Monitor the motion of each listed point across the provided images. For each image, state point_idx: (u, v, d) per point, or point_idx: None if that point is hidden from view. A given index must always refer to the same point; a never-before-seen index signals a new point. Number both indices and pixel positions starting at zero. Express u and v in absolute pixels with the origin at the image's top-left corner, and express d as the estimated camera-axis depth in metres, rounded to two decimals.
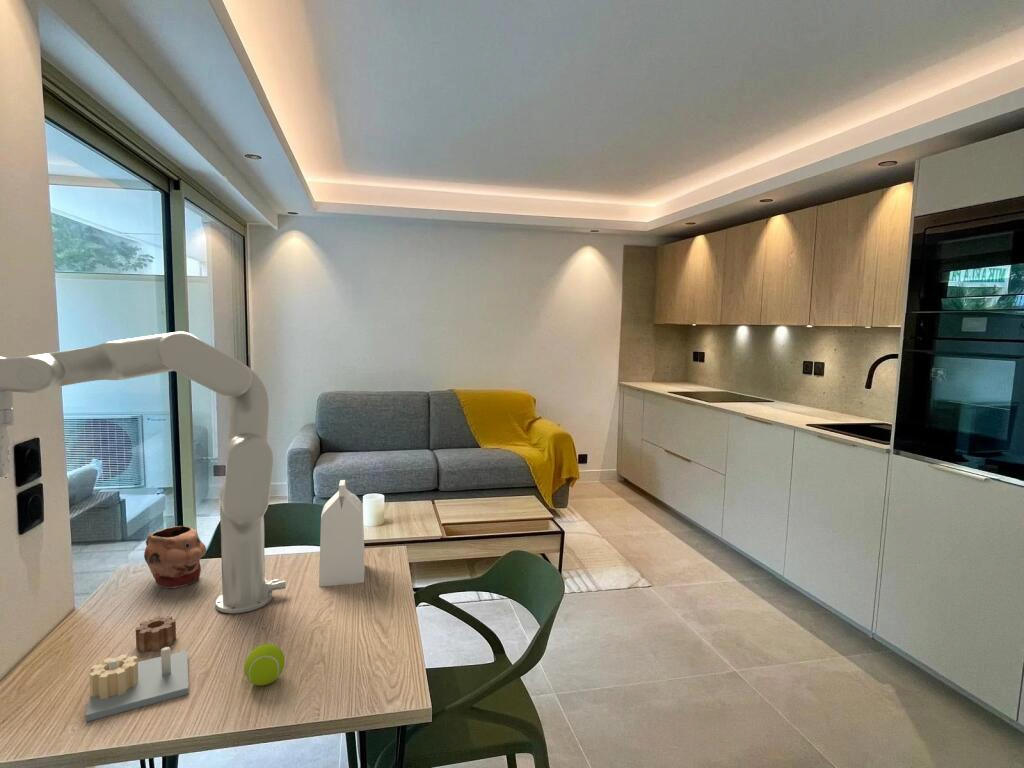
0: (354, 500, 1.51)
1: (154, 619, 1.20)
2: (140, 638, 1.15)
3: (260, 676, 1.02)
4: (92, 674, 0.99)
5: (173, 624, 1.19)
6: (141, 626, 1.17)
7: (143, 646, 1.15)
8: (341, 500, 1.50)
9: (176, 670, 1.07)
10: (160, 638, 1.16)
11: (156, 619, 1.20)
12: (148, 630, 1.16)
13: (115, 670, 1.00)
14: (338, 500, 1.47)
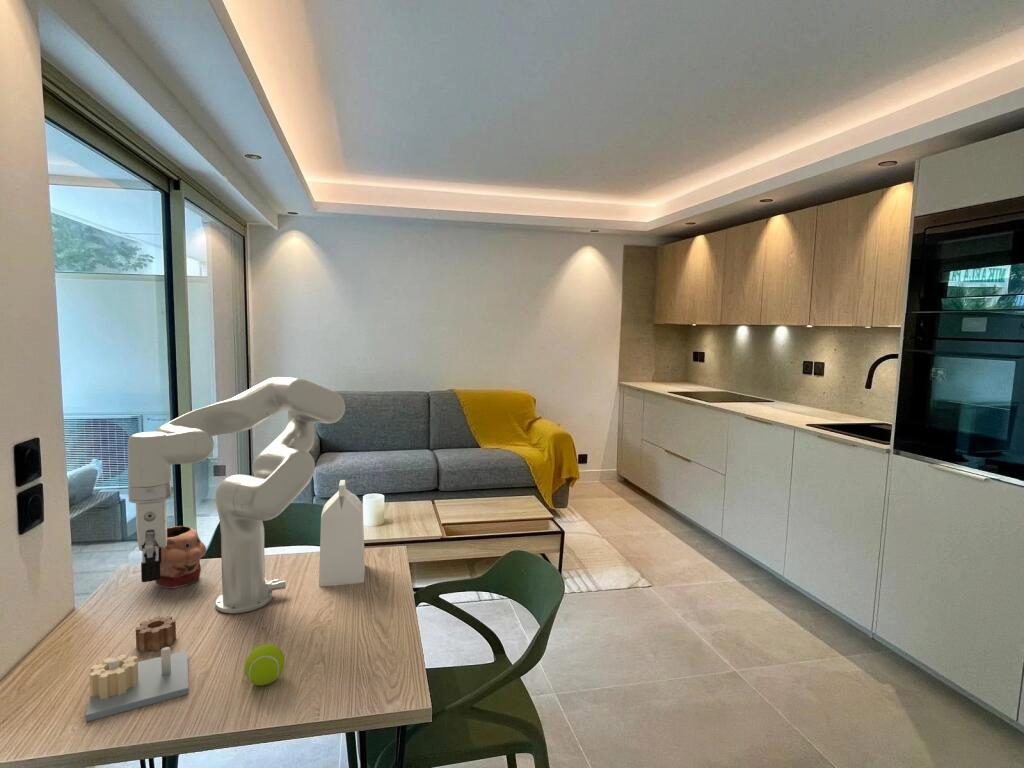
0: (354, 500, 1.51)
1: (154, 619, 1.20)
2: (140, 638, 1.15)
3: (260, 676, 1.02)
4: (92, 674, 0.99)
5: (173, 624, 1.19)
6: (141, 626, 1.17)
7: (143, 646, 1.15)
8: (341, 500, 1.50)
9: (176, 670, 1.07)
10: (160, 638, 1.16)
11: (156, 619, 1.20)
12: (148, 630, 1.16)
13: (115, 670, 1.00)
14: (338, 500, 1.47)
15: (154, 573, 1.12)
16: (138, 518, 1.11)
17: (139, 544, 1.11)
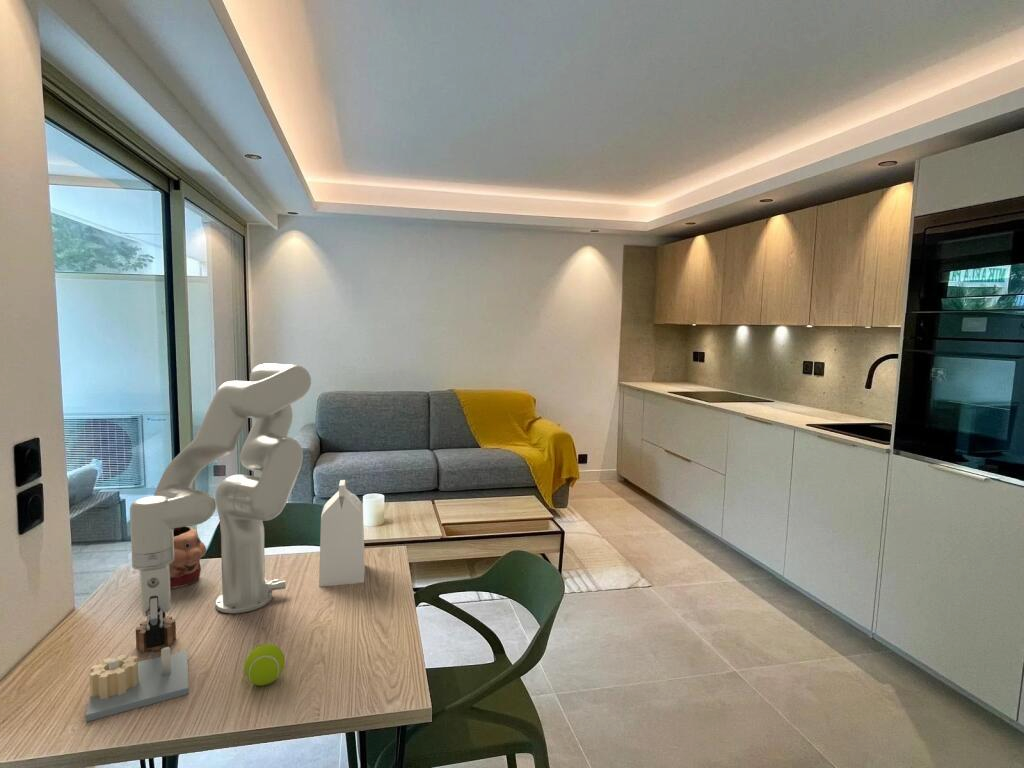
0: (354, 500, 1.51)
1: None
2: (140, 638, 1.15)
3: (260, 676, 1.02)
4: (92, 674, 0.99)
5: (173, 624, 1.19)
6: (141, 626, 1.17)
7: (143, 646, 1.15)
8: (341, 500, 1.50)
9: (176, 670, 1.07)
10: None
11: None
12: None
13: (115, 670, 1.00)
14: (338, 500, 1.47)
15: (159, 639, 1.14)
16: (142, 585, 1.13)
17: (143, 610, 1.13)
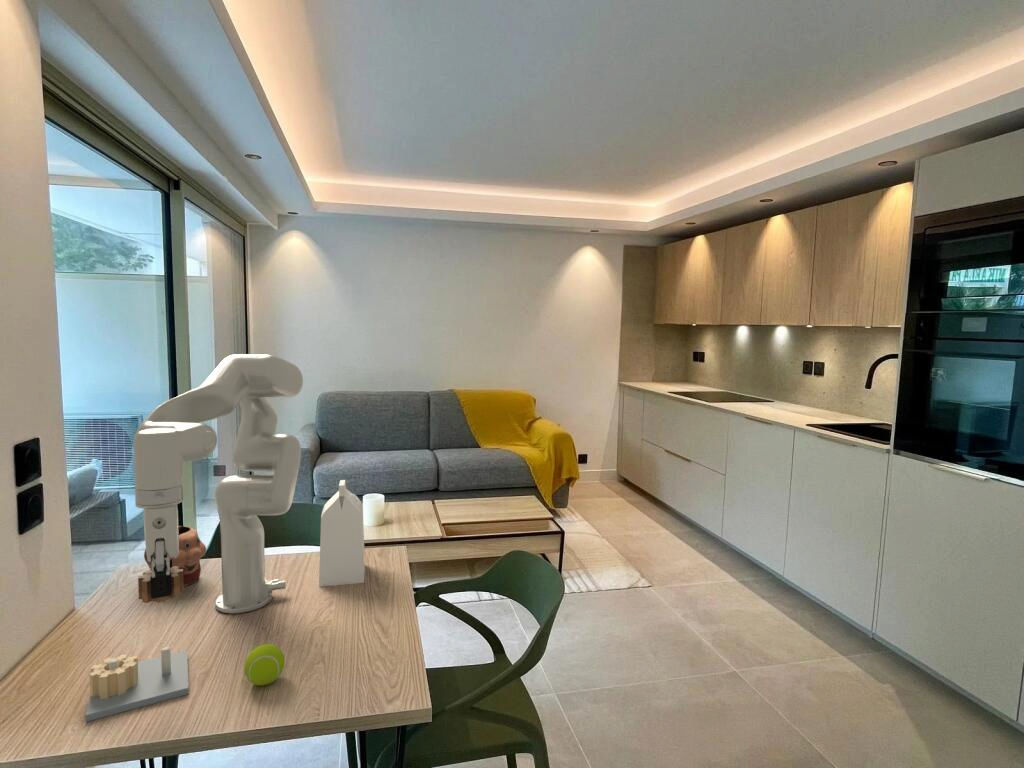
0: (354, 500, 1.51)
1: None
2: (143, 587, 1.01)
3: (260, 676, 1.02)
4: (92, 674, 0.99)
5: (180, 574, 1.05)
6: (144, 575, 1.03)
7: (146, 596, 1.01)
8: (341, 500, 1.50)
9: (176, 670, 1.07)
10: None
11: None
12: None
13: (115, 670, 1.00)
14: (338, 500, 1.47)
15: (165, 588, 1.01)
16: (146, 525, 0.99)
17: (148, 554, 0.99)
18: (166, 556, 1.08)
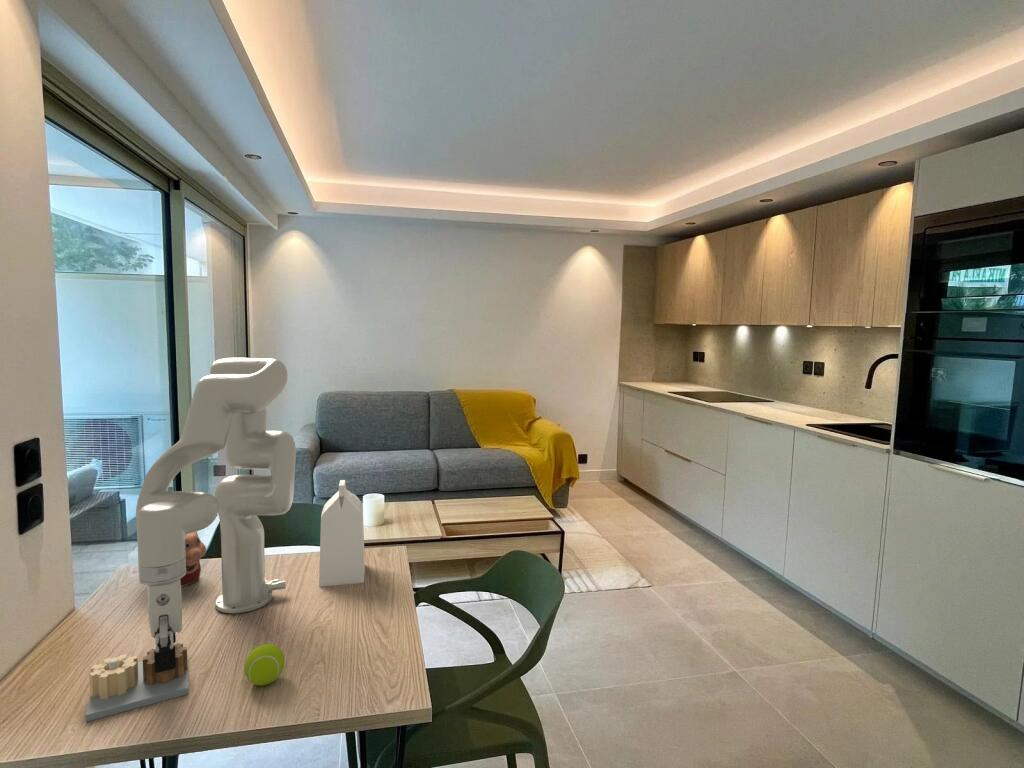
0: (354, 500, 1.51)
1: None
2: (148, 669, 1.02)
3: (260, 676, 1.02)
4: (92, 674, 0.99)
5: (184, 652, 1.07)
6: (149, 655, 1.05)
7: (151, 678, 1.02)
8: (341, 500, 1.50)
9: None
10: None
11: None
12: None
13: (115, 670, 1.00)
14: (338, 500, 1.47)
15: (169, 662, 1.01)
16: (150, 602, 1.00)
17: (152, 631, 1.00)
18: None
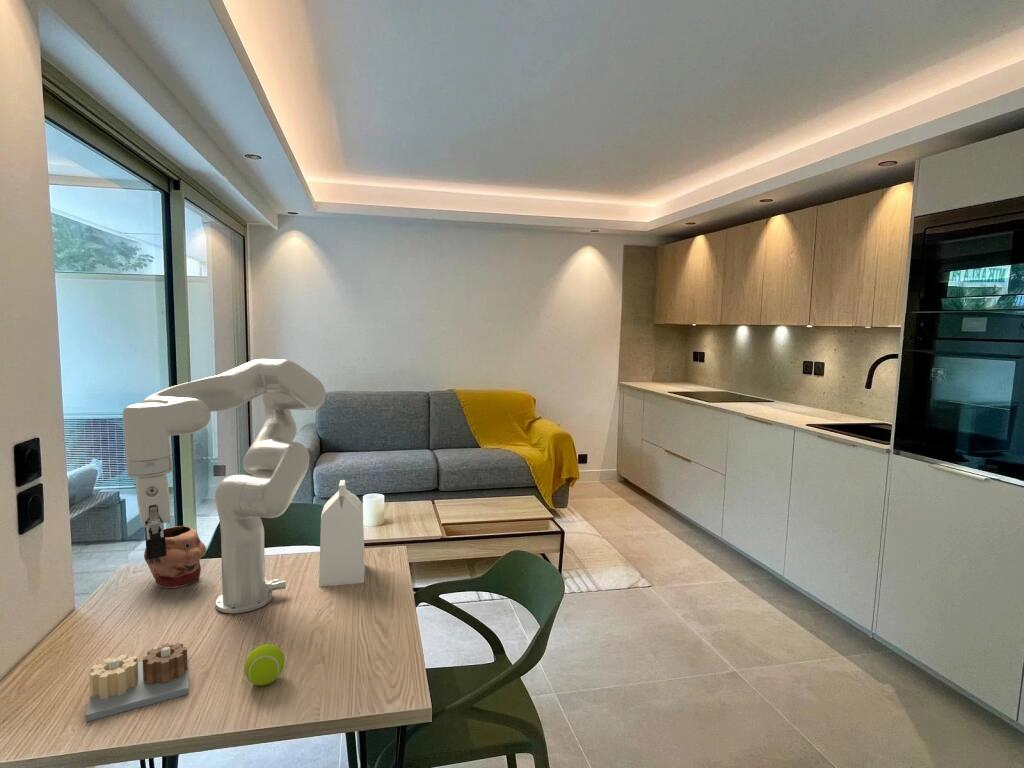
0: (354, 500, 1.51)
1: (163, 647, 1.07)
2: (148, 669, 1.02)
3: (260, 676, 1.02)
4: (92, 674, 0.99)
5: (184, 652, 1.07)
6: (149, 655, 1.05)
7: (151, 678, 1.02)
8: (341, 500, 1.50)
9: None
10: (170, 669, 1.04)
11: None
12: (157, 660, 1.03)
13: (115, 670, 1.00)
14: (338, 500, 1.47)
15: (160, 549, 1.07)
16: (139, 493, 1.06)
17: (142, 520, 1.06)
18: None
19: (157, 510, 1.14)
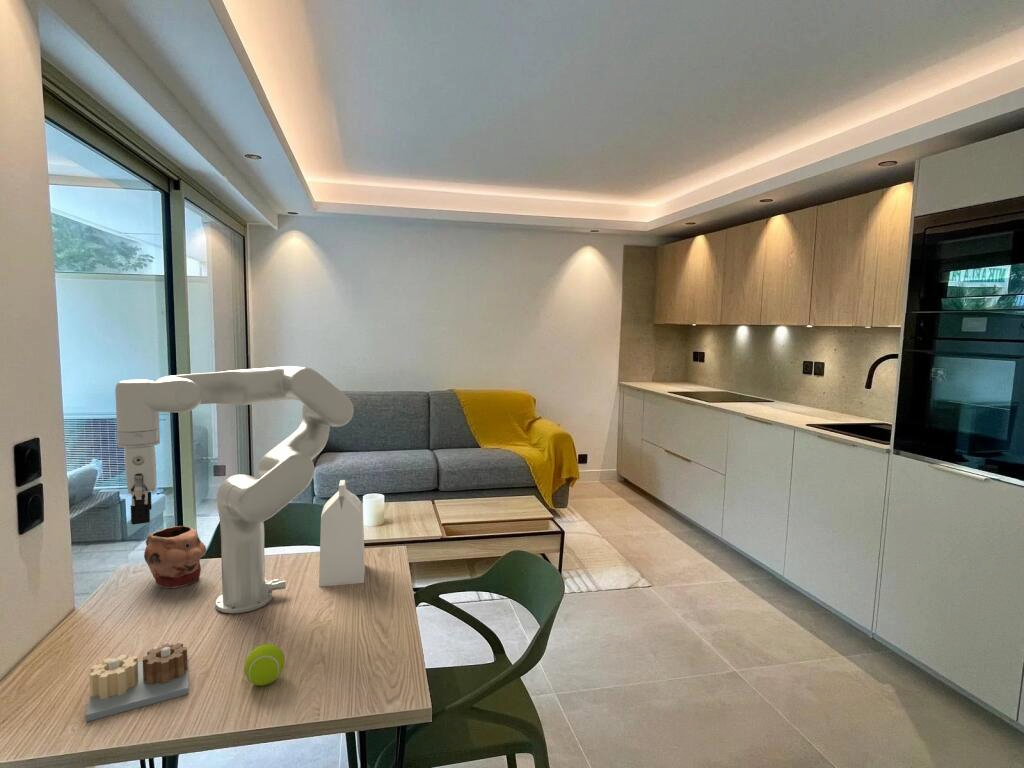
0: (354, 500, 1.51)
1: (163, 647, 1.07)
2: (148, 669, 1.02)
3: (260, 676, 1.02)
4: (92, 674, 0.99)
5: (184, 652, 1.07)
6: (149, 655, 1.05)
7: (151, 678, 1.02)
8: (341, 500, 1.50)
9: None
10: (170, 669, 1.04)
11: None
12: (157, 660, 1.03)
13: (115, 670, 1.00)
14: (338, 500, 1.47)
15: (144, 516, 1.15)
16: (127, 462, 1.14)
17: (128, 487, 1.14)
18: None
19: None
